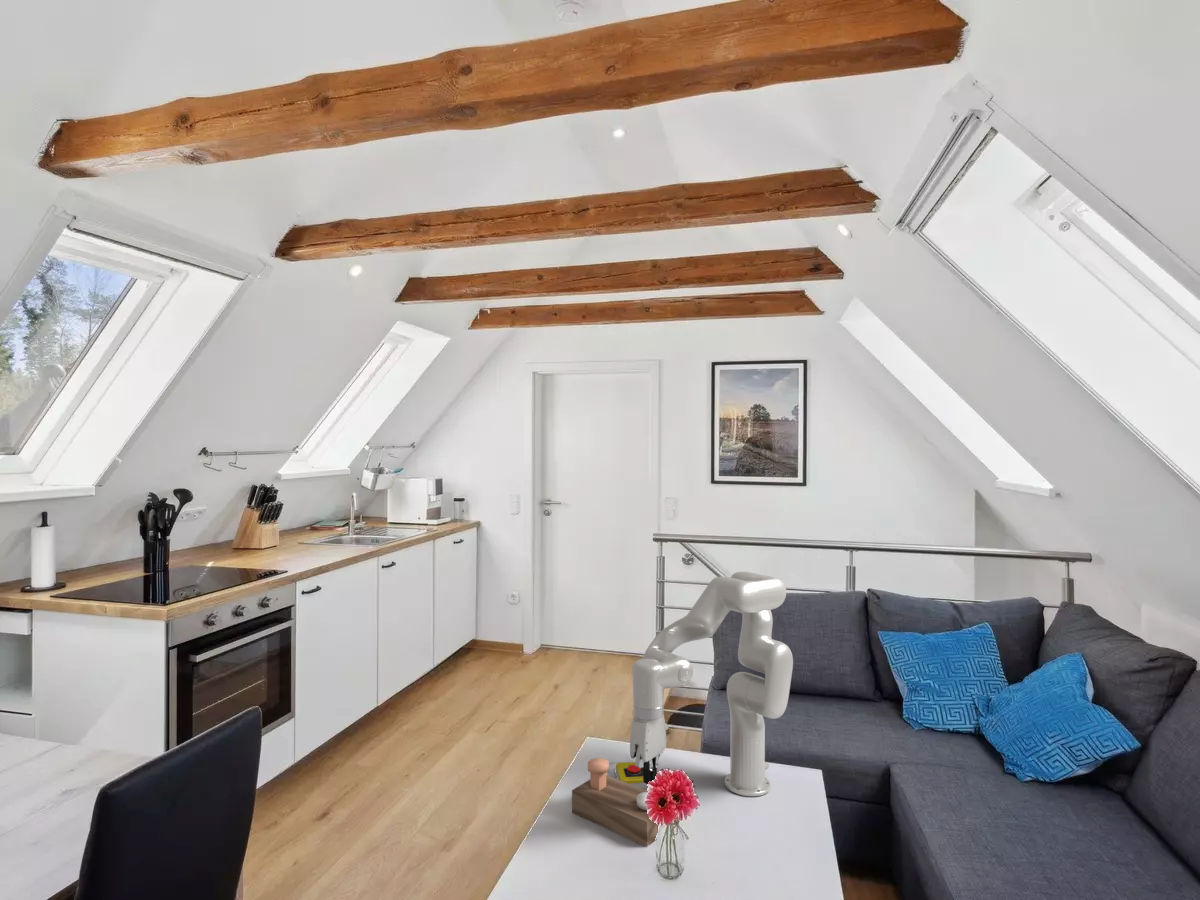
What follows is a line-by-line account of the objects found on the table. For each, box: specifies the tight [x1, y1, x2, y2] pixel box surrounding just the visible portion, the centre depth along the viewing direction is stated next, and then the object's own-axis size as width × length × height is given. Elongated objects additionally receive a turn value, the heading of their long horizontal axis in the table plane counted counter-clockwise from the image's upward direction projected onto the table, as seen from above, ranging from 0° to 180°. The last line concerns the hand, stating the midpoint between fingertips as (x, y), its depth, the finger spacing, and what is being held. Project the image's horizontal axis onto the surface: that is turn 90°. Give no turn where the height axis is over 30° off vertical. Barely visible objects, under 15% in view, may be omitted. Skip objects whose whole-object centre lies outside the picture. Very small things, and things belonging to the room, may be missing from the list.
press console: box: [571, 774, 658, 847], centre depth 174 cm, size 12×24×6 cm, turn 51°
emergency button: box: [615, 761, 648, 791], centre depth 195 cm, size 9×4×15 cm
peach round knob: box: [587, 757, 610, 791], centre depth 179 cm, size 6×6×8 cm
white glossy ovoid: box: [637, 792, 649, 810], centre depth 169 cm, size 6×6×8 cm
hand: (650, 783), depth 169 cm, fingers closed
